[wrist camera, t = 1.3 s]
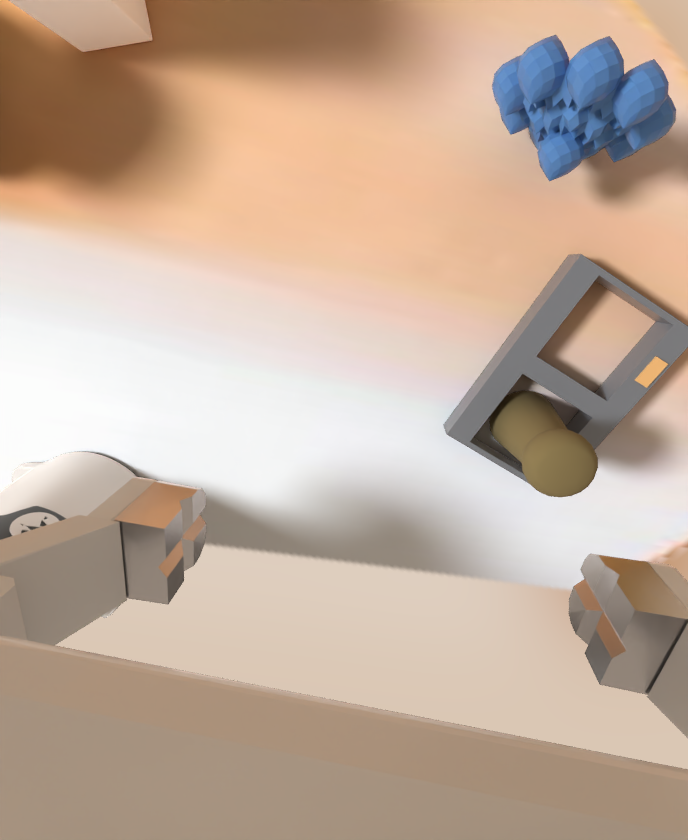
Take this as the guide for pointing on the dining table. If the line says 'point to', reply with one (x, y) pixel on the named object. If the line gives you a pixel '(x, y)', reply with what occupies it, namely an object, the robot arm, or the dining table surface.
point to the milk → (92, 21)
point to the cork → (543, 444)
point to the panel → (521, 358)
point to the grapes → (582, 103)
